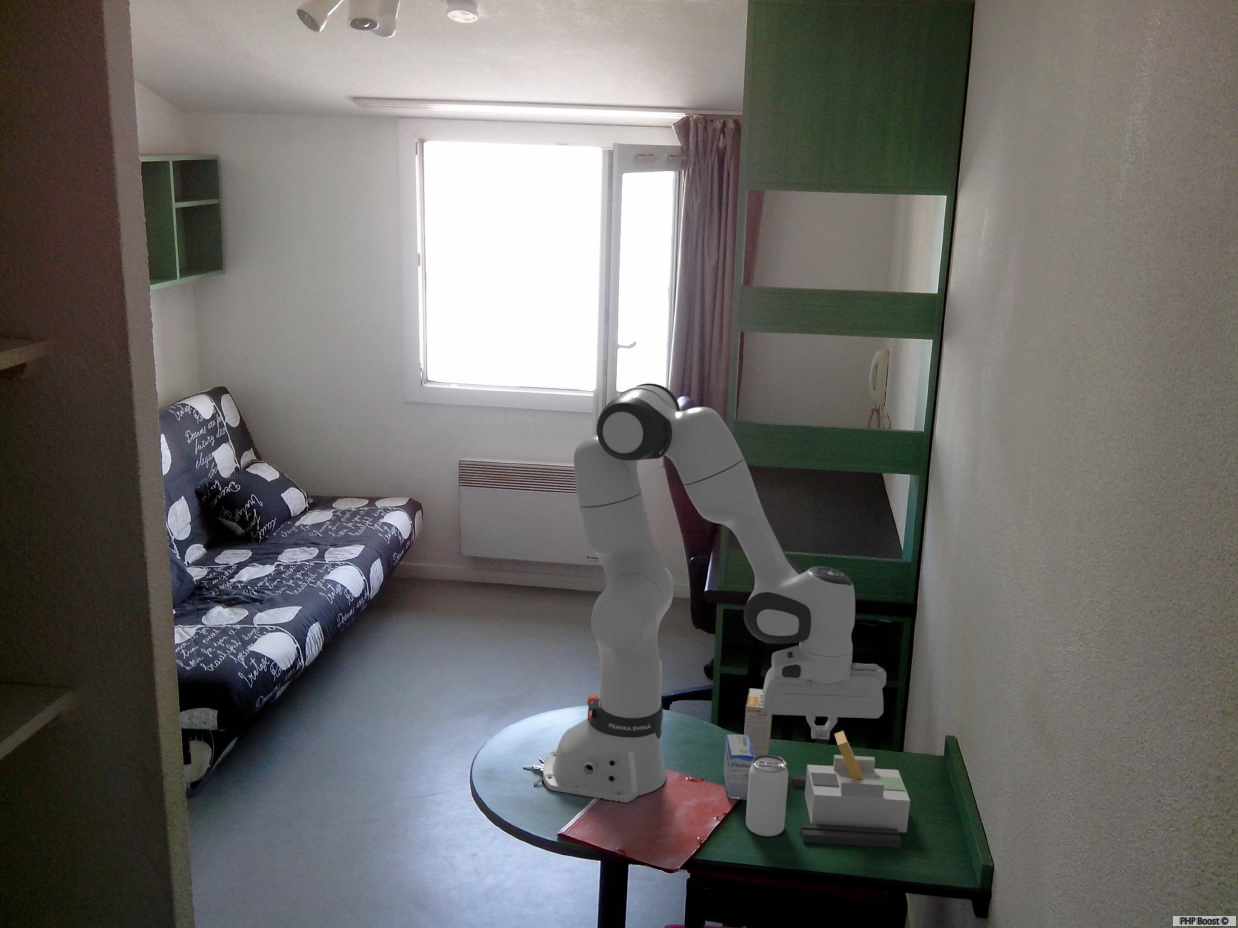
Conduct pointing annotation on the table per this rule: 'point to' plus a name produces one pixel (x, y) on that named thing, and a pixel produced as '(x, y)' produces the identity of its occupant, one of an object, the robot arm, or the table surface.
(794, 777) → the dark grey long bar
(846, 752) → the lever
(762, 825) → the can
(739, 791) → the medicine box
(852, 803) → the white slotted housing
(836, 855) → the table surface
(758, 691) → the supplement box
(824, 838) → the dark grey flat bar
